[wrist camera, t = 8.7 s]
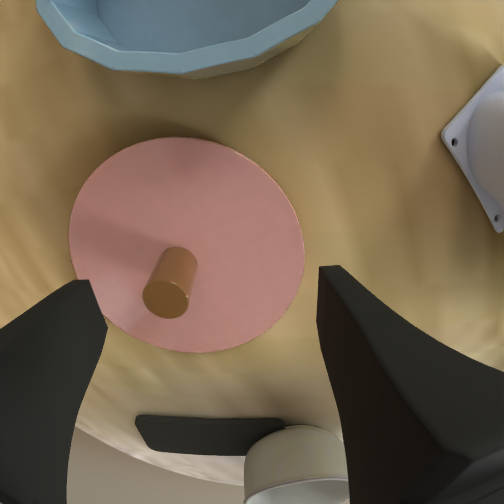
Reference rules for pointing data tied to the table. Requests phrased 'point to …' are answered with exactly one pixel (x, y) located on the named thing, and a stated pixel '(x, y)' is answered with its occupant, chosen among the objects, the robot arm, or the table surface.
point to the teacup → (296, 468)
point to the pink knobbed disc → (187, 244)
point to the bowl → (181, 32)
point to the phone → (204, 434)
